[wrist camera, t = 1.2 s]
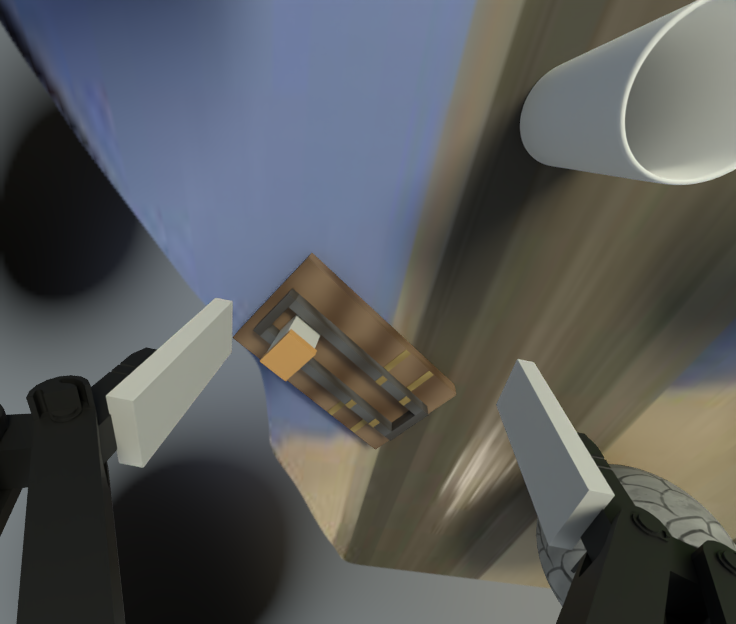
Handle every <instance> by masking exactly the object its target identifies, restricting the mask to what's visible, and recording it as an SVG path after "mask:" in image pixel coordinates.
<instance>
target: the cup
mask: <svg viewBox="0 0 736 624" xmlns="http://www.w3.org/2000/svg"><path fill="white" fill-rule="evenodd" d="M520 135H521V139H522V142H523V145H524V147H525V149H526V150H527V152H528V153H529V154H530V155H531V156H532V157H533V158H534V159H535V160H537V161H538V162H540V163H542V164H545V165H548V166H554V167H560V168H566V169H573V170H579V171H585V172H591V173H598V174H604V175H610V176H616V177H623V178H629V179H635V180H642V181H648V182H654V183H661V184H669V185H687V184H696V183H701V182H705V181H709V180H712V179H715V178H717V177H720V176H722V175H725V174H727V173H729V172H731V171H733V170H735V169H736V0H697V1H695V2H693V3H691V4H689V5H686V6H684V7H682V8H680V9H678V10H676V11H674V12H671V13H669V14H667V15H665V16H663V17H661V18H659V19H657V20H655V21H652V22H650V23H648V24H646V25H644V26H642V27H640V28H638V29H635V30H633V31H631V32H629V33H627V34H625V35H623V36H621V37H618V38H616V39H614V40H612V41H610V42H608V43H606V44H604V45H601V46H599V47H597V48H595V49H593V50H591V51H589V52H587V53H584V54H582V55H580V56H578V57H576V58H574V59H572V60H570V61H567V62H565V63H563V64H561V65H559V66H557V67H555V68H553V69H552V70H550V71H549V72H548V73H546V74H545V75H544V76H543V77H542V78H541V79H540V80H539V81H538V82H537V83H536V84H535V86H534V87H533V88H532V90H531V91H530V93H529V95H528V96H527V98H526V101H525V103H524V105H523V109H522V112H521V117H520Z"/></svg>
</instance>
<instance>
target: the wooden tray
mask: <svg viewBox="0 0 736 624" xmlns="http://www.w3.org/2000/svg"><path fill="white" fill-rule="evenodd" d="M296 314H297V315H298V316H300V317H301V318H302V319H303V320H304V321H305V322H307V323H308V324H309V325H310V326H311V327H312V328H314V329H315V330H316V331H317V332H318V333H319V334H321V335H320V337H319V340H318V342H317V345H316V347H315V349H316V350H317V352H316V355H315V356H314V357H312V358H311V359H310V360H309V361H308V362H307V363H306V364H305V365H303V366H302V367H301V368H300V369H299V370H298V371H297V372H296V373H294V374H293V375H292V376H291V377H290V378H289V379H288V380H287V381H289V382H290V383H291V384H292V385H294V386H295V387H296V388H298V389H299V390H300V391H301V392H303V393H304V394H305V395H306V396H308V397H309V398H310V399H312V400H313V401H314V402H315V403H317V404H318V405H319V406H321V407H322V408H323V409H324V410H326V411H327V412H328V413H329V414H331V415H332V416H333V417H335V418H336V419H337V420H338V421H340V422H341V423H342V424H343V425H345V426H346V427H347V428H349V429H350V430H351V431H352V432H354V433H355V434H356V435H358V436H359V437H360V438H361V439H363V440H364V441H365V442H366V443H368V444H369V445H370V446H372V447H373V448H374V449H377V448H378V447H380V446H381V445H383V444H384V443H386V442H387V441H389V440H390V441H391V440H392V439H394V438H395V437H397V436H398V435H399V434H401V433H402V432H404V431H405V430H407V429H408V428H410V427H411V426H413V425H414V424H416V423H417V422H419V421H420V420H422V419H423V418H425V417H426V416H428V414H429V413H430V412H432V411H433V410H434V409H436V408H437V407H439V406H440V405H442V404H443V403H445V402H446V401H448V400H449V399H451V398H452V397H454V396H455V395H456V390H455V386H454V384H453V383H452V382H451V381H450V380H449V379H448V378H447V377H446V376H444V375H443V374H442V373H441V372H440V371H439V370H438V369H437V368H436V367H435V366H434V365H433V364H432V363H430V362H429V361H428V360H427V359H426V358H425V357H424V356H423V355H422V354H421V353H420V352H419V351H417V350H416V349H415V348H414V347H413V346H412V345H411V344H410V343H409V342H408V341H407V340H406V339H405V338H403V337H402V336H401V335H400V334H399V333H398V332H397V331H396V330H395V329H394V328H393V327H392V326H390V325H389V324H388V323H387V322H386V321H385V320H384V319H383V318H382V317H381V316H380V315H379V314H378V313H376V312H375V311H374V310H373V309H372V308H371V307H370V306H369V305H368V304H367V303H366V302H365V301H364V300H362V299H361V298H360V297H359V296H358V295H357V294H356V293H355V292H354V291H353V290H352V289H351V288H349V287H348V286H347V285H346V284H345V283H344V282H343V281H342V280H341V279H340V278H339V277H338V276H337V275H335V274H334V273H333V272H332V271H331V270H330V269H329V268H328V267H327V266H326V265H325V264H324V263H323V262H321V261H320V260H319V259H318V258H317V257H316V256H315V255H314V254H313V253H311V254H310V255H309V256H308V257H307V258H306V260H305V261H304V262H303V263H302V264H301V265H300V266H299V267H298V268H297V269H296V270H295V271H294V272H293V273H292V274H291V275H290V276H289V278H288V279H287V280H286V281H285V282H284V283H283V284H282V285H281V286H280V287H279V288H278V289H277V290H276V291H275V292H274V293H273V294H272V296H271V297H270V298H269V299H268V300H267V301H266V302H265V303H264V304H263V305H262V306H261V307H260V308H259V309H258V310H257V311H256V312H255V314H254V315H253V316H252V317H251V318H250V319H249V320H248V321H247V322H246V323H245V324H244V325H243V326H242V327H241V328H240V329H239V331H238V332H237V333H236V334H235V335H234V337H233V338H234V339H235V340H236V341H238V342H239V343H240V344H241V345H243V346H244V347H245V348H246V349H248V350H249V351H250V352H252V353H253V354H254V355H255V356H257V357H258V358H259V359H260V360H261V358H262V357H263V356H264V355H265V354H266V353H267V351H268V349H269V348H270V346H271V345H272V343H273V341H274V340H275V338H276V337H277V335H278V333H279V332H280V330H281V329H282V328H283V327H284V326H285V325H286V324H287V323H288V322H289V321H290V320H291V319H292V318H293V317H294V316H295V315H296Z"/></svg>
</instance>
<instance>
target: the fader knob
mask: <svg viewBox="0 0 736 624" xmlns="http://www.w3.org/2000/svg"><path fill="white" fill-rule="evenodd" d="M320 335H321V334H319V333H318V332H317V331H316V330H315V329H314V328H312V327H311V326H310V325H309V324H308V323H307V322H305V321H304V320H303V319H302V318H301V317H300V316H298V315H297V314H296V315H295V316H294V317H293V318H292V319H291V320H290V321H289V322H288V323H287V324H286V325H285V326H284V327H283V328H282V329H281V330H280V332H279V333H278V335H277V337H276V338H275V340H274V341H273V343H272V345H271V346H270V348H269V349H268V351H267V353H266V354H265V355H264V356H263V357H262V358H261V360H260V362H261V363H262V364H264V365H265V366H266V367H268V368H269V369H270V370H271V371H273V372H274V373H275V374H277V375H278V376H279V377H280V378H282V379H283V380H284V381H285V382H286V381H287V380H288V379H289V378H290V377H291V376H292V375H293V374H294V373H296V372H297V371H298V370H299V369H300V368H301V367H302V366H303V365H305V364H306V363H307V362H308V361H309V360H310V359H311V358H312V357H314V356H315V355H316V352H317V350H316V349H315V347H316V345H317V342H318V340H319V337H320Z"/></svg>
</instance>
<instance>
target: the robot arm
mask: <svg viewBox="0 0 736 624" xmlns="http://www.w3.org/2000/svg"><path fill="white" fill-rule="evenodd" d="M232 304H233V301H229V300H224V299H219V298H215V299H214V300H213V301H212V302H210V303H209V304H208V305H207V306H206V307H205V308H204V309H203V310H202V311H200V312H199V313H198V314H197V315H196V316H195V317H194V318H192V319H191V321H189V322H188V323H187V324H186V325H185V326H183V327H182V328H181V329H180V330H179V331H178V332H177V333H176V334H174V335H173V336H172V337H171V338H170V339H169V340H168V341H167V342H165V343H164V344H163V345H162V346H161V347H160V348H159V349H158V350H156V349H151V348H144V349H142V350H140V351H137V352H135V353H133V354H131V355H130V356H129V357H128V358H126V359H125V360H124V361H123V362H121V364H120V365H118V366H117V367H115V368H114V369H113V370H112V372H109V373H108V374H107V375H105V376H104V377H103V378H102V379H101V380H99V381H98V382H97V383H96V384H95V385H93V386H92V387H91V386H90V384H89V382H88V380H87V379H85V378H83V377H81V376H72V375H70V376H60V377H56V378H53V379H49V380H46V381H44V382H42V383H40V384H38V385H36V386H35V387H34V388H33V389H32V390H30V391H29V393H28V395H27V397H26V399H27V401H28V405H29V408H30V411H31V414H15V415H6V414H5V411H4V409H3V407H2V406H1V404H0V536H1V534H2V531H3V529H4V527H5V525H6V523H7V520H8V518H9V516H10V514H11V512H12V509H13V507H14V505H15V503H16V501H17V498H18V497H19V494H20V492H21V490H22V488H25V487H28V495H27V507H26V519H25V531H24V543H23V555H22V565H21V577H20V589H19V600H18V613H17V624H125V616H124V607H123V598H122V589H121V580H120V570H119V561H118V552H117V543H116V534H115V525H114V516H113V507H112V497H111V488H110V480H109V470H108V464H107V460H108V459H109V458H110V457H111V456H112V455H113V453H114V452H115V451H116V450H117V456H118V460H119V463H122V464H127V465H132V466H137V467H142V468H143V467H144V466H145V465H146V463H147V462H148V461H149V459H150V458H151V457H152V456H153V454H154V453H155V451H156V450H157V449H158V447H159V446H160V445H161V444H162V442H163V441H164V440H165V439H166V437H167V436H168V435H169V433H170V432H171V431H172V429H173V428H174V427H175V425H176V424H177V423H178V422H179V420H180V419H181V418H182V416H183V415H184V414H185V412H186V411H187V410H188V409H189V407H190V406H191V405H192V403H193V402H194V401H195V399H196V398H197V397H198V395H199V394H200V393H201V392H202V390H203V389H204V387H205V386H206V385H207V384H208V382H209V381H210V380H211V378H212V377H213V376H214V375H215V373H216V372H217V370H218V369H219V368H220V367H221V365H222V364H223V363H224V361H225V360H226V359H227V358H228V356H229V355H230V354H231V352H232ZM496 405H497V408H498V411H499V413H500V416H501V419H502V422H503V424H504V427H505V430H506V432H507V435H508V438H509V440H510V443H511V446H512V448H513V451H514V454H515V456H516V459H517V462H518V465H519V467H520V470H521V473H522V475H523V478H524V481H525V483H526V486H527V489H528V491H529V494H530V497H531V499H532V502H533V505H534V508H535V510H536V513H537V516H538V518H539V521H540V524H541V526H542V529H543V532H544V534H545V537H546V540H547V542H548V545H549V546H554V547H559V548H564V549H569V550H572V549H573V548H574V546H575V545H576V544H577V543H578V541H579V540H580V539H581V540H582V542H583V545H584V547H585V549H586V552H585V554H584V555H583V556H582V557H581V558H580V560H579V561H578V562H577V563H576V564H575V566H574V567H573V568H572V569H571V572H572V573H575V572H576V573H575V575H574V578H573V580H572V583H571V586H570V588H569V591H568V594H567V596H566V599H565V601H564V604H563V607H562V609H561V612H560V615H559V617H558V620H557V622H556V624H736V551H735V550H733V549H731V548H730V547H728V546H726V545H725V544H722V543H720V542H717V541H714V540H707V541H705V542H704V543H703V544H702V545H701V546H700V547H699V548H696V547H694V546H692V545H690V544H688V543H685V542H683V541H681V540H679V539H677V538H674V537H672V536H671V534H670V533H669V531H668V529H667V528H666V527H665V526H664V525H663V523H662V522H661V521H660V520H659V519H658V518H656V517H655V516H654V515H652V514H651V513H650V512H648V511H646V510H644V509H643V508H641V507H638V506H635V504H634V503H633V501H632V500H631V498H630V497H629V495H628V494H627V492H626V490H625V489H624V487H623V486H622V484H621V483H620V481H619V480H618V478H617V477H616V475H615V473H614V472H613V470H611V467H610V466H609V464H608V463H607V461H606V460H604V456H603V455H602V453H601V452H600V450H599V449H598V447H597V446H596V445H595V444H594V443H593V442H592V441H591V440H590V439H589V438H588V437H587V436H586V435H585V434H583V433H578V432H576V431H575V429H574V427H573V426H572V424H571V422H570V421H569V419H568V417H567V416H566V414H565V413H564V411H563V409H562V408H561V406H560V404H559V403H558V401H557V399H556V398H555V396H554V395H553V393H552V391H551V390H550V388H549V386H548V385H547V383H546V381H545V380H544V378H543V376H542V375H541V373H540V372H539V370H538V368H537V367H536V365H535V363H534V362H530V361H525V360H520V359H517V361H516V363H515V366H514V368H513V370H512V372H511V374H510V376H509V378H508V381H507V383H506V385H505V387H504V389H503V391H502V393H501V396H500V398H499V400H498V402H497V404H496Z"/></svg>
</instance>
